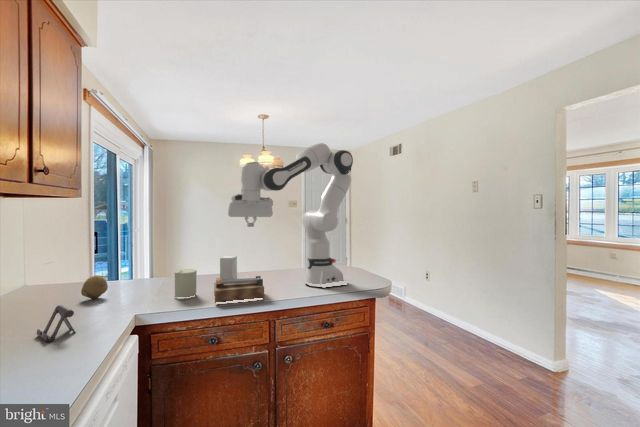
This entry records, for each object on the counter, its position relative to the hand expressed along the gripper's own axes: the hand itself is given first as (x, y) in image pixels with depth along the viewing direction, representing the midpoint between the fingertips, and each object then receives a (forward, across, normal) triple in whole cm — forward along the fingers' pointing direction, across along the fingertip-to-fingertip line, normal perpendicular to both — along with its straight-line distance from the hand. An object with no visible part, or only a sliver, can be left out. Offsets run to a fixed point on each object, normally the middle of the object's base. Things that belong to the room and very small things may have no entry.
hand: (250, 226), depth 145 cm
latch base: (+31, +6, +7) cm, 32 cm away
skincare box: (+31, +9, -12) cm, 35 cm away
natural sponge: (+31, +64, -11) cm, 72 cm away
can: (+31, +28, -3) cm, 42 cm away
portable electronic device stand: (+32, +63, +29) cm, 76 cm away
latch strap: (+24, +6, +7) cm, 26 cm away
